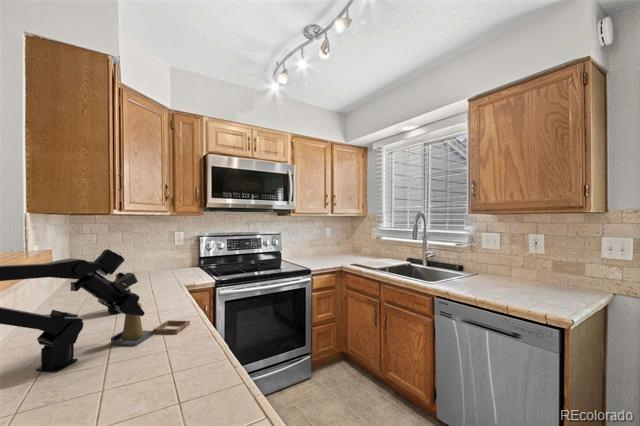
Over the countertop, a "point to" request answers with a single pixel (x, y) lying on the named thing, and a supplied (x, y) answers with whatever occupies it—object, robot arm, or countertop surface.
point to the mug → (113, 310)
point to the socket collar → (171, 331)
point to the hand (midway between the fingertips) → (137, 312)
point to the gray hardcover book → (119, 340)
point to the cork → (132, 326)
